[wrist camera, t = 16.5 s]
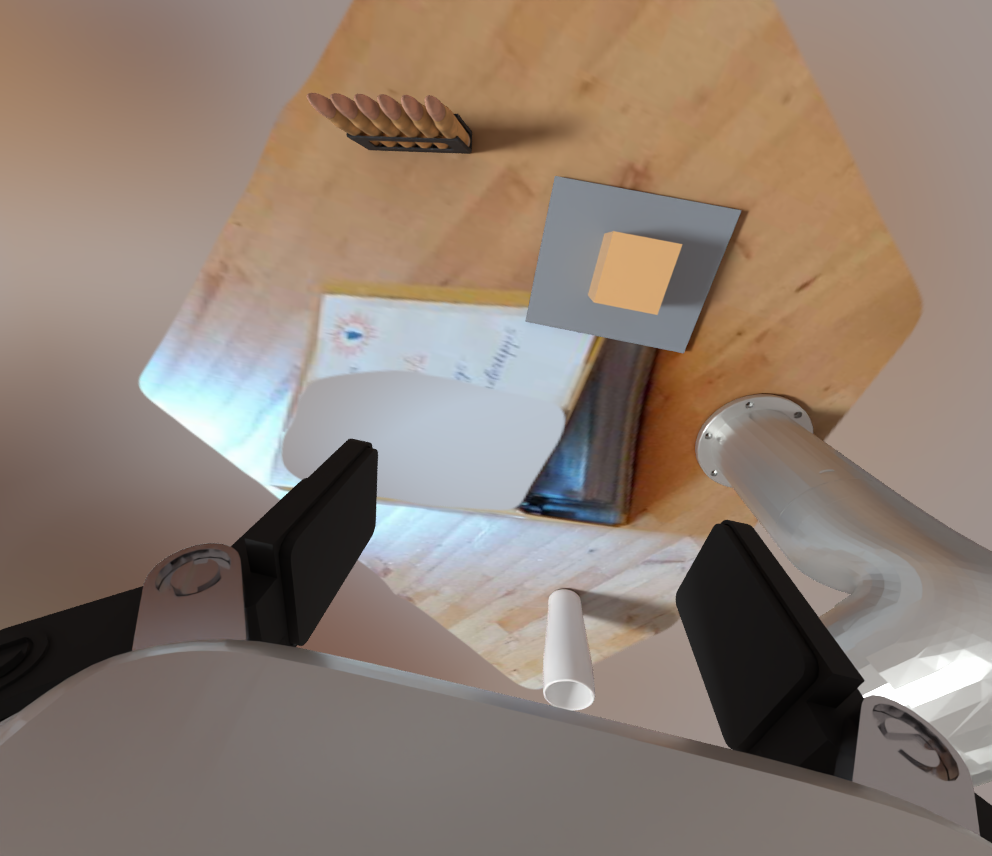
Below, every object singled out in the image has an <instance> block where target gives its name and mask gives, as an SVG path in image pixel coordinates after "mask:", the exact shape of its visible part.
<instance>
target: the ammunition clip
mask: <svg viewBox="0 0 992 856" xmlns="http://www.w3.org/2000/svg"><path fill="white" fill-rule="evenodd" d="M307 98H308V100H309V102H310V104H311V105H312V106H313V107H314V108H315V109H316V110H317V111H318V112H319V113H320V114H322V115H323V116H325V117H326V118H327V119H329V120H330V121H331V122H332V123H333V124H334V125H335V126H336V127H338V128H340V129H341V130H343V131H345V132H347V137H348V138H350V139H352V140H353V141H355V142H357V143H358V144H360V145H362V146H363V147H365V148H367V149H368V150H381V151H409V152H437V153H465V154H470V153H471V147H472V131H471V130H470V128H469V127H468V126H467V125H466V124H465V122H464V121H463V120H462V119H461V117H460V116H459V115H458V114H453V113H452V111H451V110H450V109H449V108H448V107H447V106H445V105H443V104H442V103H441V102H440V101H439V100H438V99H437V98H436V97H433V96H430V95H428V96H426V97H425V106H424V105H422V104H421V103H420V102H418V101H417V100H416V99H415V98H413V97H411V96H409V95H403V96H402V97H401V103H402V104H399V103H398V102H397V101H395V100H394V99H393V98H391V97H389V96H387V95H383V94H381V95H379V96H378V98H377V100H378V103H377V102H376V101H374V100H373V99H371V98H369V97H368V96H365V95H363V94H356V95H355V96H354V100H355V101H353V100H351V99H349V98H348V97H346V96H344V95H341V94H336V93H334V94H331V96H330V98H331V100H330V99H328V98H326V97H324V96H322V95H320V94H317V93H309V94H307Z"/></svg>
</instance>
